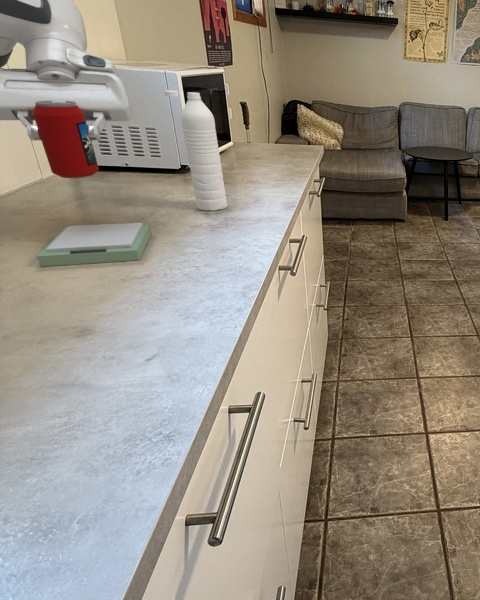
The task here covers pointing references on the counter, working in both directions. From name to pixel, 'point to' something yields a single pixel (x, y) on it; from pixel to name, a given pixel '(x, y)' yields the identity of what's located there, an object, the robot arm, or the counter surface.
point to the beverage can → (65, 139)
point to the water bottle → (202, 153)
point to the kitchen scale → (96, 244)
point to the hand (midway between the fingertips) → (65, 138)
